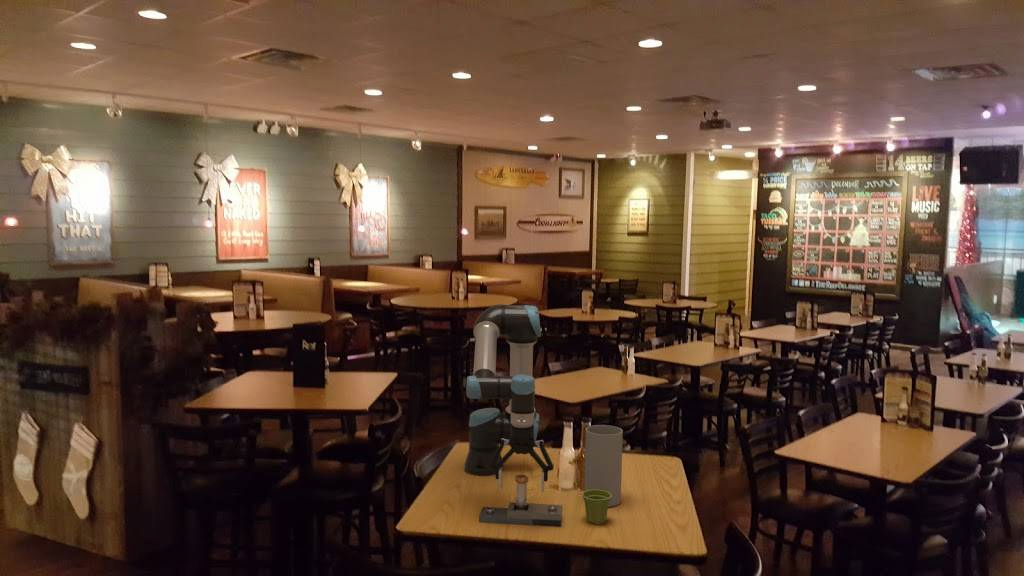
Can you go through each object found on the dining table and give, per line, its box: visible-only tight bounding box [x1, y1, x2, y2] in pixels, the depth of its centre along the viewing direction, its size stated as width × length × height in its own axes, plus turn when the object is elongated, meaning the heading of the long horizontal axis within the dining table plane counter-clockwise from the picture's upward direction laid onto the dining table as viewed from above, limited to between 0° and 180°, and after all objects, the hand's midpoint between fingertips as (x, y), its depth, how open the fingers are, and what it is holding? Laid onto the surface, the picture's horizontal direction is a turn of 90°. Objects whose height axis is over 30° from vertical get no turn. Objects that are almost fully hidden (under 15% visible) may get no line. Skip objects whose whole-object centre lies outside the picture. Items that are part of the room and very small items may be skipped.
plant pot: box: [581, 490, 612, 525], centre depth 237 cm, size 9×9×9 cm
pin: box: [514, 474, 529, 510], centre depth 236 cm, size 4×4×14 cm
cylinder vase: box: [583, 424, 624, 508], centre depth 253 cm, size 12×12×25 cm
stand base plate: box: [478, 501, 563, 528], centre depth 237 cm, size 26×8×5 cm, turn 84°
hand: (521, 490), depth 236 cm, fingers open, 13 cm apart
